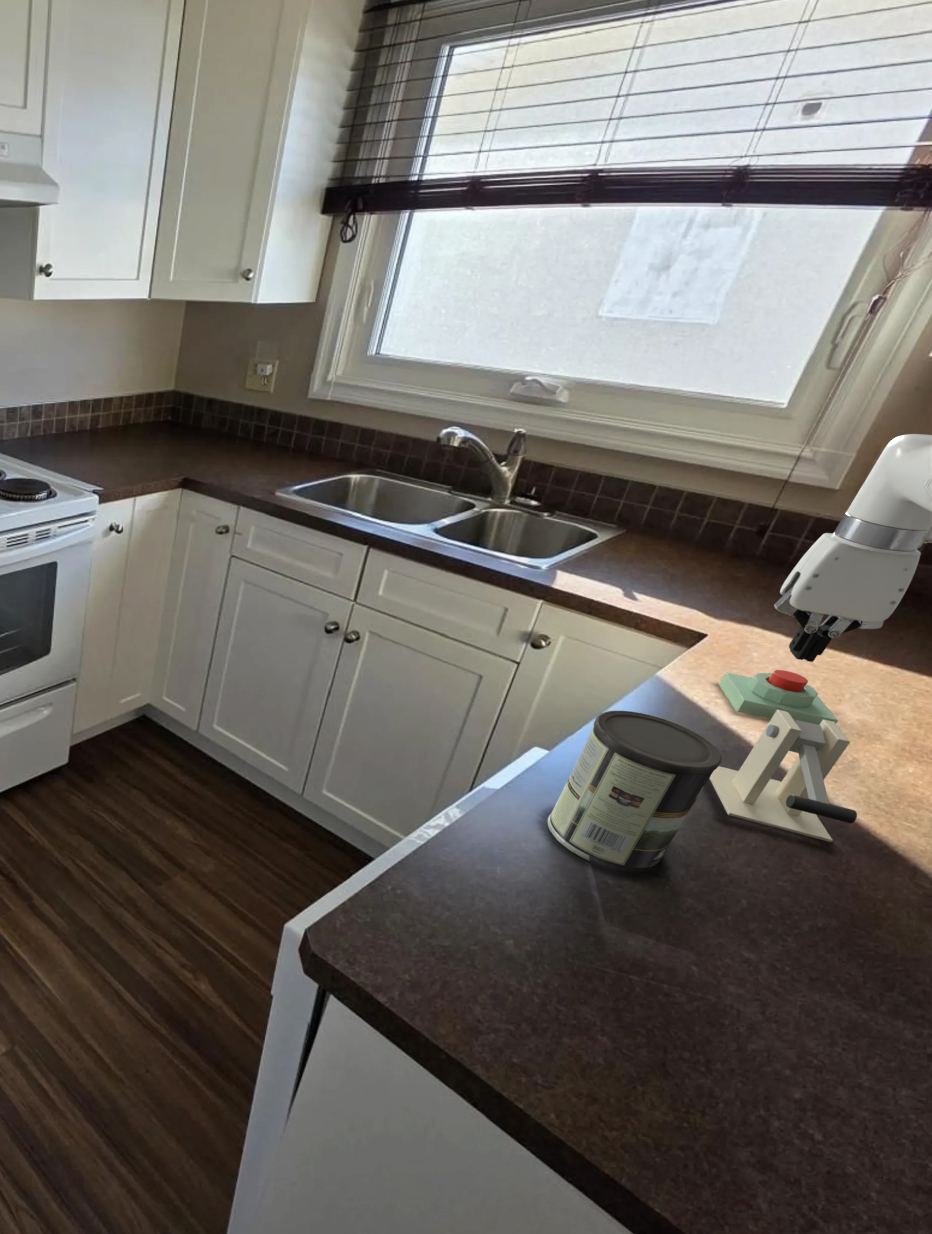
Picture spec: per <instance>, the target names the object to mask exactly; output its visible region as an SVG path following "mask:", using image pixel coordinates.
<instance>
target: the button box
mask: <svg viewBox="0 0 932 1234" xmlns="http://www.w3.org/2000/svg"><path fill="white" fill-rule="evenodd" d="M772 673H773V672H757V673H756V674H755V675H754V676H753V677H750V676H745V675H741V674H736V673H730V672H725V673H724V674H723V676H722V678H721V680H720V681H719V683H718V685H719V687H720V689H721V690H722V692H723V693H724V695H725V696H726V697H727V700H728V702H729V703H730V704H731V706H732V707H733V709H734V710H735V712H736V713H741V714H747V715H750V716H755V717H760V718H764V719H768V720H771V719H772V717H773V715H774V714H775V712H776V711H777V710H781V711H786V712H788V713H789V714H790V716H791V717H792V718H793V720H794V721H795V720H798V721H803V722H807V723H812V724H816V725H820V723H821V722H822V720H827V721H832V722H835V724H836V725H837V723H838V722H839V720H838V718H837V717H836V716H835V714H833V712H832V711H831V710H830V709H829V707H827V705H826V704H825V703H824V702H823V700H822V699H821V698H820V697H819V696H818V695H819V693H818V691H817V690H816V689H815V688H814V687H812V686H811V685H808V683H807V684H806V686H805V687H804V689H803V691H802V692H792V691H787V690H784V689H781V688H778V687H775V686H773V685H772V684H770V683H768V680H769V678H770V677H771V675H772Z"/></svg>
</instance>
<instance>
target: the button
mask: <svg viewBox="0 0 932 1234" xmlns="http://www.w3.org/2000/svg"><path fill="white" fill-rule="evenodd" d="M771 673H772V675H771V677H770V678H769V680H768V683H770V684H772V685H773V686H775V687H778V688H781V689H784V690H787V691H792V692H802V691H803V689H804V687H805V686H806V684H807V685H808V683H809V680H808V679H807V677H805V676H803V675H801V674H798V673H796V672H793V671H789V670H784V669H783V670H782V669H775V670H773V672H771Z"/></svg>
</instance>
